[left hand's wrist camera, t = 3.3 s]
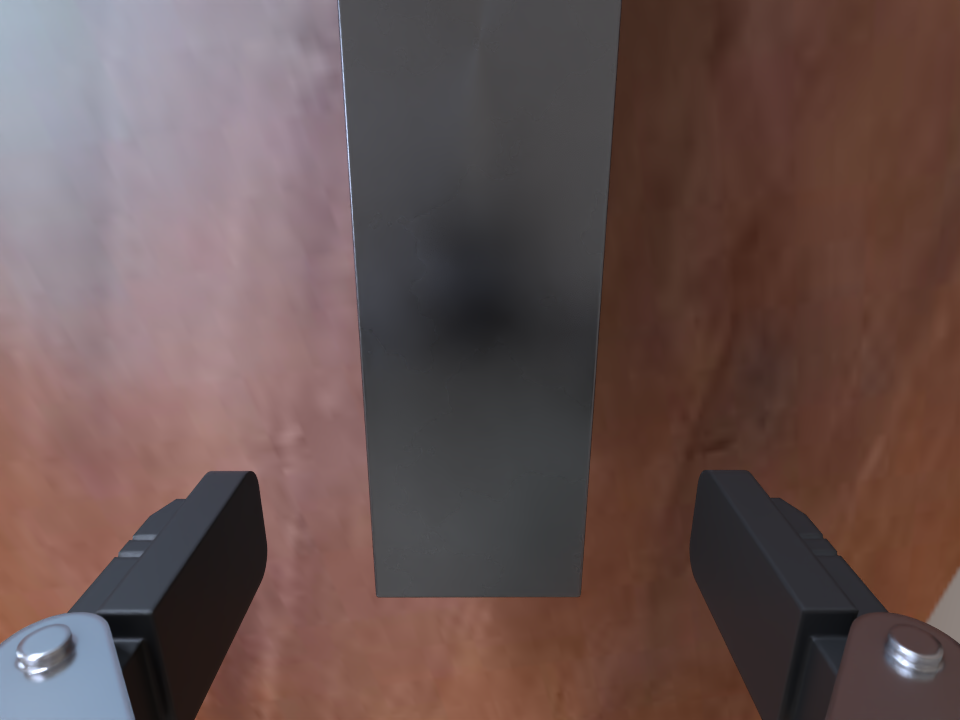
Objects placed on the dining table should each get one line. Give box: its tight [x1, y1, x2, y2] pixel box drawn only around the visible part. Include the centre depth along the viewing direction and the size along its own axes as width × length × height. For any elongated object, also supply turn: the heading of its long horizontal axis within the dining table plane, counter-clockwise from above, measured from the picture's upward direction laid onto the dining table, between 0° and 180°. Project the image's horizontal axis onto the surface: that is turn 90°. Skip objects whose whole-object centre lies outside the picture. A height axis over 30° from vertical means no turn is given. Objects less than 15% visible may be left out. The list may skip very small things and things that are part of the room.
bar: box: [337, 0, 622, 597], centre depth 16 cm, size 25×5×9 cm, turn 0°
